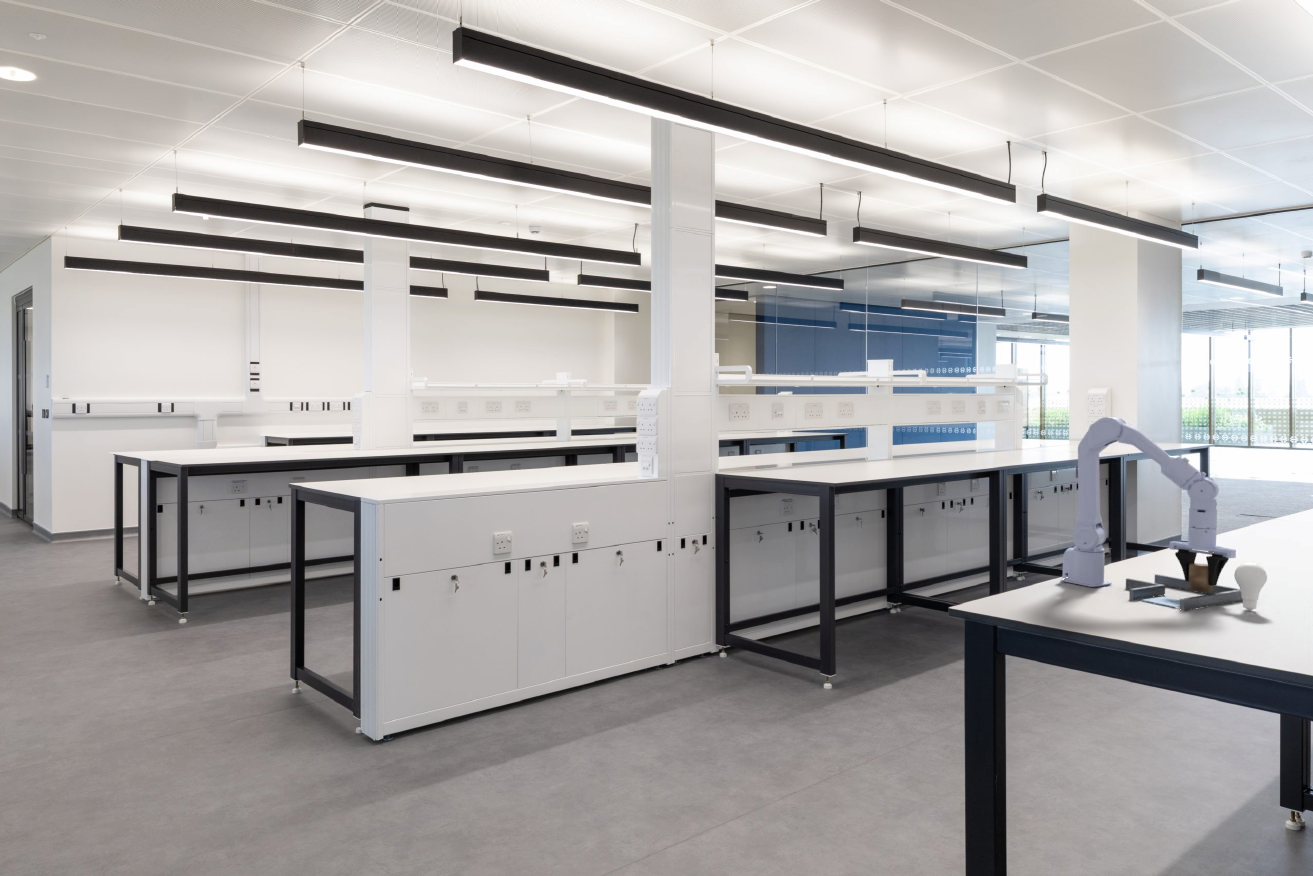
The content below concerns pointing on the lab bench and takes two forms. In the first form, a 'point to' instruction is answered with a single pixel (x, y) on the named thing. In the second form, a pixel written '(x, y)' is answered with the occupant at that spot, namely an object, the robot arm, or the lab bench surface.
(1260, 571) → the lightbulb
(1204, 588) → the walnut cylinder
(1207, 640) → the lab bench surface
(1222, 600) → the guide walls
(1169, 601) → the pad
